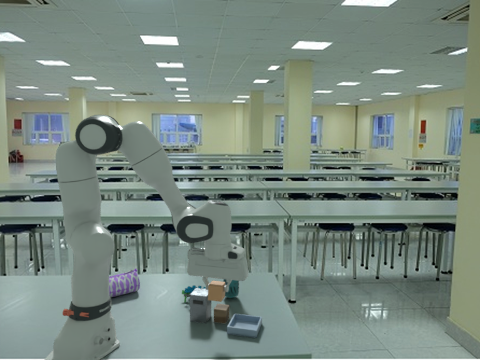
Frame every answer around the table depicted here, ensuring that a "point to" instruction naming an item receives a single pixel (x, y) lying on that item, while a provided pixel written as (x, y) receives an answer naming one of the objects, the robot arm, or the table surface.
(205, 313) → the box
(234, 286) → the beverage bottle
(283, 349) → the table surface
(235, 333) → the tray
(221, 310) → the walnut block
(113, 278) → the pencil case
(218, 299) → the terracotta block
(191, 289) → the gear
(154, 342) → the table surface
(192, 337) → the table surface
